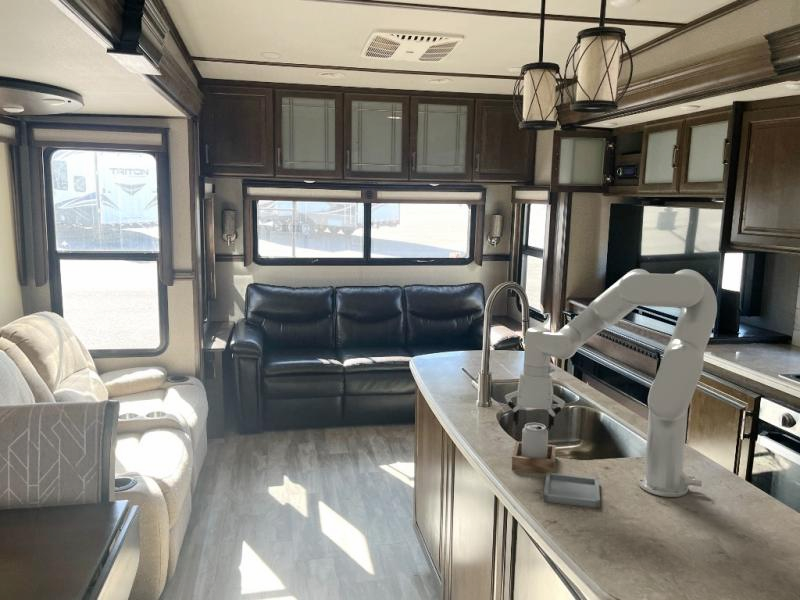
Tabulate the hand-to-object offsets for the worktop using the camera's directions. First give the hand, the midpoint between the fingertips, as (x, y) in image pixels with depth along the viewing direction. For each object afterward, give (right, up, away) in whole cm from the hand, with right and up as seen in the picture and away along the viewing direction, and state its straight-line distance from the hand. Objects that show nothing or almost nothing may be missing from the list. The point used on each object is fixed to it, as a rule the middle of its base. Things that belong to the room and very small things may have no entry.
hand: (533, 425), depth 184 cm
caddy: (+1, -12, +2) cm, 12 cm away
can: (+1, -12, +2) cm, 12 cm away
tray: (+7, -15, -16) cm, 23 cm away
